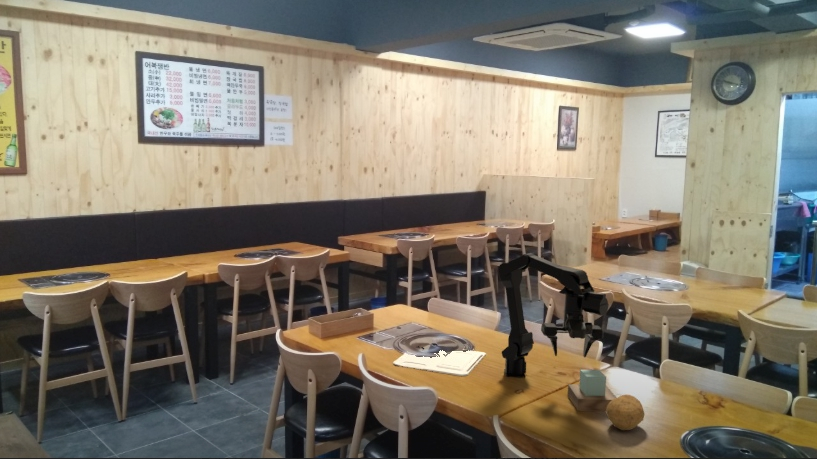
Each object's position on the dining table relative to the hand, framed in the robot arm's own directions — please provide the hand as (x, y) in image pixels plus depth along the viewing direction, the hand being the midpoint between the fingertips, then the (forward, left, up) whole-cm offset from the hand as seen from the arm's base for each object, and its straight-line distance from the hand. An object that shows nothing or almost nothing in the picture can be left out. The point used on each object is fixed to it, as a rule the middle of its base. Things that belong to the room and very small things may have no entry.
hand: (570, 356), depth 191 cm
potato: (+9, -26, -12) cm, 30 cm away
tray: (-40, +29, -12) cm, 51 cm away
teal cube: (+5, -10, -8) cm, 13 cm away
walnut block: (+5, -9, -12) cm, 16 cm away
